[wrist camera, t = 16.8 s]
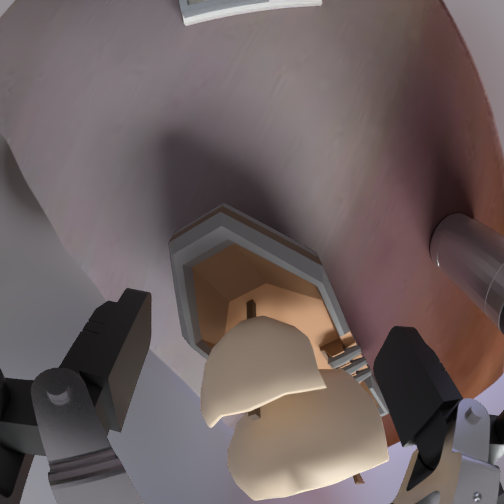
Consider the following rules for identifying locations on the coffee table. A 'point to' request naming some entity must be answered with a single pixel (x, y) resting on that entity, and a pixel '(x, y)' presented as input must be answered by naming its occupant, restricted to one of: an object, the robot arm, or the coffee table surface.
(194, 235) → the sailing ship
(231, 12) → the plate
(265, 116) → the coffee table surface
